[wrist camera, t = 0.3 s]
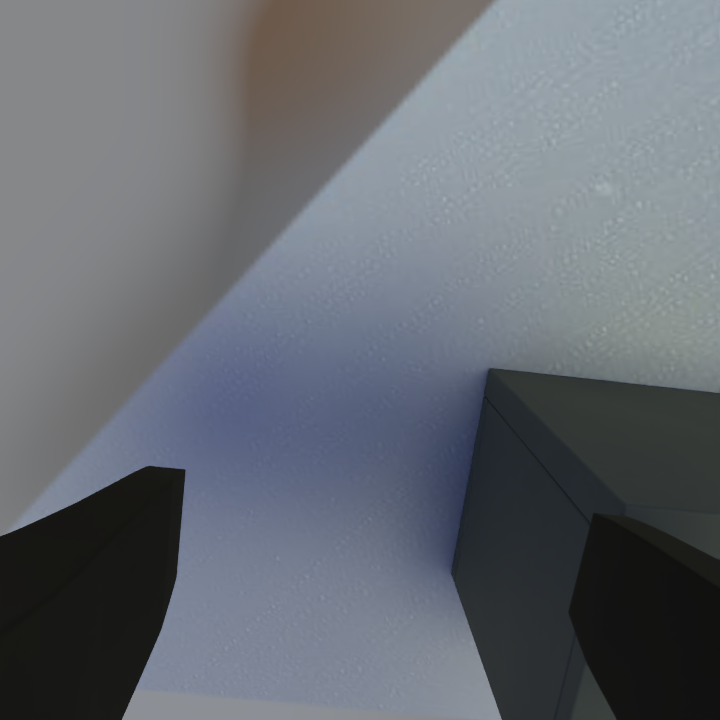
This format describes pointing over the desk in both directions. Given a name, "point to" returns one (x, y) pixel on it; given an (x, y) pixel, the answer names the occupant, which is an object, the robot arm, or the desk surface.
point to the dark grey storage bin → (570, 517)
